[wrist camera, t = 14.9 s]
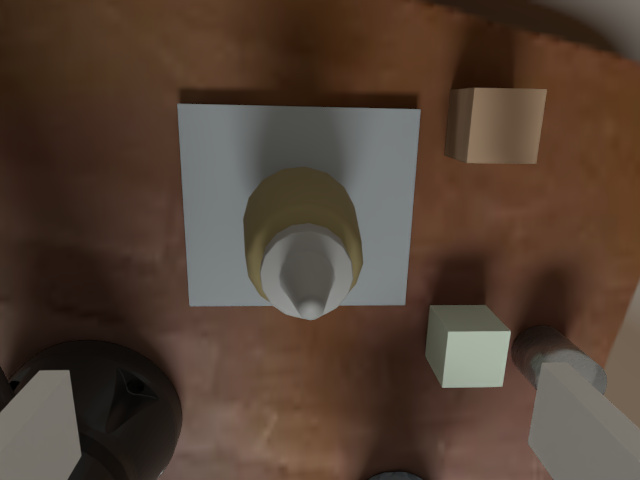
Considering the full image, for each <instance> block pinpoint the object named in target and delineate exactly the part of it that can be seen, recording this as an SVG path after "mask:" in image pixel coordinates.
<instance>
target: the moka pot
mask: <svg viewBox="0 0 640 480" xmlns="http://www.w3.org/2000/svg"><path fill="white" fill-rule="evenodd" d="M369 480H423V479H421V478H419V477H417V476H415V475H413V474H410V473H406V472H388V473H386V472H384V473H382V474H379V475H376V476H373V477H371V478H370V479H369Z"/></svg>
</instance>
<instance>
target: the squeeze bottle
mask: <svg viewBox="0 0 640 480" xmlns="http://www.w3.org/2000/svg"><path fill="white" fill-rule="evenodd" d="M243 227H244V246H245V258H246V265H247V271H248V277H249V279H250V280H251V282H252V284H253V285H254V287H255V288H256V290H257V291H258V293H259V295H260V296H261V297H263V298H264V299H266V300H267V301H269V302H270V303H271V304H272V305H273V306H274V307H276V308H277V309H279V310H280V311H281V312H283V313H284V314H286V315H290V316H294V317H298V318H302V319H308V320H314V319H317V318H319V317H320V316H322V315H324V314H326V313H328V312H330V311H332V310H334V309H336V308H337V307H338V306H339V305H340V303H341V302H342V301H343V300H344V299H345V298H346V297H347V295H348V293H349V292H350V291H351V289H352V288H353V287H354V286H355V285H356V283H357V280H358V277H359V274H360V271H361V269H362V266H363V253H362V241H361V236H360V231H359V226H358V221H357V216H356V211H355V206H354V204H353V203H352V201H351V199H350V197H349V195H348V193H347V191H346V189H345V187H344V186H342V185H341V184H340V183H339V182H338V181H336V180H335V179H334V178H333V177H331V176H330V175H329V174H328V173H325V172H322V171H319V170H315V169H312V168H308V167H297V168H288V169H282V170H280V171H278V172H276V173H275V174H273V175H271V176H269V177H267V178H265V179H264V180H262V181H261V183H260V184H259V185H258V187H257V188H256V189H255V190H254V192H253V193H252V194H251V195H250V197H249V198H248V202H247V206H246V210H245V214H244V217H243Z"/></svg>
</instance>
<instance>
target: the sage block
mask: <svg viewBox="0 0 640 480" xmlns="http://www.w3.org/2000/svg"><path fill="white" fill-rule="evenodd" d="M510 334H511V331H510V330H509V329H508V328H507V327H506V326H505V325H504V324H503V323H502V322H501V320H500V319H499V318H498V317H497V316H496V315H495V314H494V313H493V312H492V311H491V310H490V309H489V308H488V307H487V306H486V305H430V310H429V320H428V330H427V340H426V351H425V357H426V359H427V361H428V363H429V364H430V366H431V368H432V370H433V372H434V374H435V376H436V377H437V379H438V381H439V383H440V385H441V387H442V388H459V387H502V386H503V379H504V373H505V366H506V360H507V353H508V347H509V340H510Z"/></svg>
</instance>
